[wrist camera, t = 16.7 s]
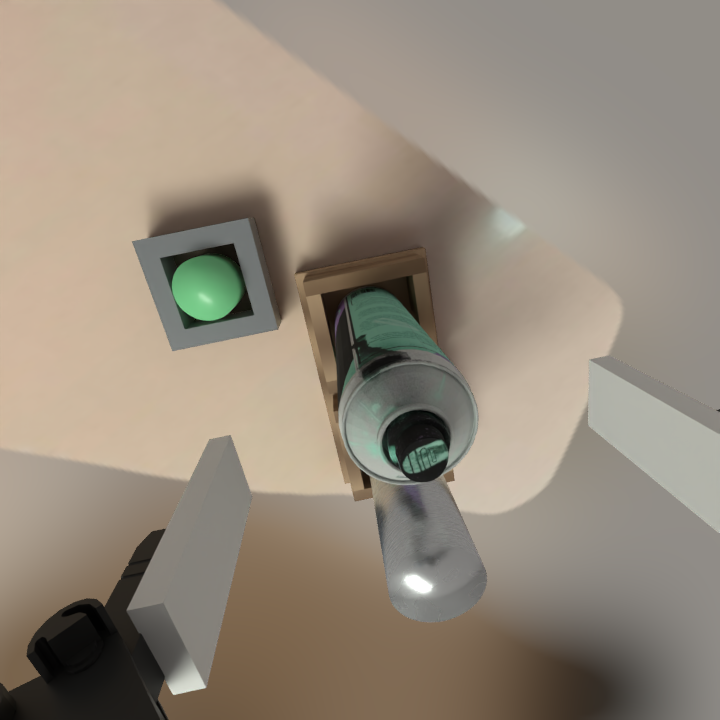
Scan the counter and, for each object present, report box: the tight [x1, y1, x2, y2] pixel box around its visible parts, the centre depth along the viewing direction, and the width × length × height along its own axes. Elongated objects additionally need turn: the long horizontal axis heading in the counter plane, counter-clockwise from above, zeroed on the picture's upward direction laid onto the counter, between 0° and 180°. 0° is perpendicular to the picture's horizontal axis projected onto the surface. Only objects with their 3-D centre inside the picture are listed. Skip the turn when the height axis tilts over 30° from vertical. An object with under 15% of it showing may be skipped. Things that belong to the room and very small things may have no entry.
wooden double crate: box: [294, 247, 455, 501], centre depth 33 cm, size 19×10×4 cm, turn 11°
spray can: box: [335, 286, 478, 485], centre depth 23 cm, size 6×6×20 cm
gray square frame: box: [132, 218, 281, 351], centre depth 30 cm, size 8×8×2 cm
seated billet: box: [370, 475, 487, 622], centre depth 28 cm, size 5×5×16 cm
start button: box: [172, 253, 246, 321], centre depth 30 cm, size 4×4×3 cm
